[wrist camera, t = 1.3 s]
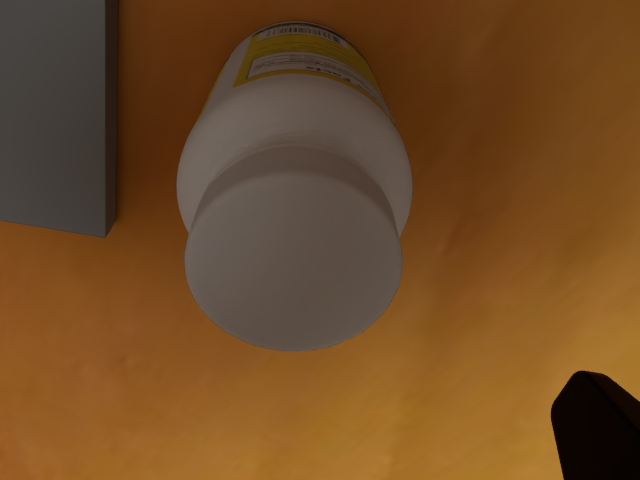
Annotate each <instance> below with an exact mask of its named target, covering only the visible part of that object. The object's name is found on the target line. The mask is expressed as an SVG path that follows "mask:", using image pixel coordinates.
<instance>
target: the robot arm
mask: <svg viewBox="0 0 640 480" xmlns="http://www.w3.org/2000/svg"><path fill="white" fill-rule="evenodd" d="M551 422H552V426H553V431H554V436H555V441H556V445H557V450H558V455H559V459H560V464H561V469H562V473H563V478H564V480H640V402H639V401H638V400H637V399H636V398H634V397H633V396H632V395H631V394H629V393H628V392H627V391H626V390H624V389H623V388H622V387H621V386H619V385H618V384H617V383H616V382H614V381H613V380H612V379H611V378H609V377H608V376H606V375H604V374H601V373H596V372H589V371H578V372H576V373H574V374H573V375H572V376H571V378H570V379H569V381H568V382H567V384H566V385H565V386H564V388H563V389H562V391H561V392H560V394H559V395H558V397H557V398H556V399H555V401H554V403H553V405H552V408H551Z"/></svg>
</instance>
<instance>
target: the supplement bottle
mask: <svg viewBox="0 0 640 480" xmlns="http://www.w3.org/2000/svg"><path fill="white" fill-rule="evenodd" d="M176 187H177V201H178V206H179V210H180V213H181V217H182V220H183V222H184V225H185V227H186V229H187V231H188V233H189V235H188V239H187V243H186V248H185V256H184V263H185V273H186V279H187V282H188V286H189V288H190V291H191V293H192V295H193V297H194V299H195V300H196V302H197V304H198V305H199V307H200V308H201V309H202V311H203V312H204V313H205V314H206V316H207V317H208V318H209V319H210V320H211V321H212V322H214V323H215V324H216V325H217V326H218V327H220V328H221V329H222V330H224V331H225V332H227V333H228V334H230V335H232V336H234V337H236V338H238V339H240V340H242V341H244V342H247V343H249V344H252V345H255V346H258V347H262V348H266V349H273V350H279V351H307V350H316V349H321V348H326V347H329V346H332V345H336V344H338V343H341V342H343V341H346V340H348V339H350V338H352V337H354V336H356V335H357V334H359V333H361V332H362V331H364V330H365V329H367V328H368V327H369V326H370V325H372V324H373V323H374V322H375V321H376V320H377V319H378V318H379V317H380V316H381V315H382V314H383V313H384V311H385V310H386V309H387V307H388V306H389V304H390V303H391V302H392V300H393V298H394V295H395V293H396V291H397V289H398V286H399V282H400V279H401V273H402V263H403V258H402V249H401V243H400V239H399V238H400V236H401V234H402V232H403V230H404V228H405V225H406V222H407V220H408V217H409V212H410V208H411V202H412V190H413V183H412V172H411V167H410V162H409V159H408V156H407V152H406V148H405V145H404V143H403V140H402V137H401V135H400V133H399V131H398V129H397V127H396V124H395V122H394V120H393V118H392V115H391V113H390V111H389V108H388V106H387V104H386V102H385V99H384V97H383V95H382V93H381V90H380V88H379V86H378V84H377V81H376V79H375V77H374V75H373V72H372V70H371V68H370V66H369V65H368V63H367V61H366V60H365V58H364V57H363V56H362V54H361V53H360V52H359V51H358V50H357V49H356V47H355V46H354V45H353V44H352V43H351V42H349V41H348V40H347V39H346V38H345V37H343V36H342V35H340V34H339V33H337V32H335V31H333V30H332V29H329V28H327V27H325V26H322V25H318V24H315V23H310V22H302V21H289V22H281V23H276V24H273V25H270V26H267V27H264V28H262V29H260V30H258V31H256V32H255V33H253V34H251V35H250V36H249V37H247V38H246V39H245V40H243V41H242V42H241V43H240V44H239V45H238V46H237V47H236V48H235V50H234V51H233V52H232V53H231V55H230V56H229V58H228V59H227V60H226V62H225V63H224V65H223V67H222V69H221V71H220V73H219V75H218V77H217V79H216V81H215V83H214V85H213V87H212V89H211V91H210V93H209V95H208V97H207V99H206V101H205V104H204V106H203V108H202V110H201V111H200V113H199V116H198V118H197V120H196V122H195V123H194V125H193V127H192V129H191V131H190V134H189V136H188V138H187V140H186V143H185V145H184V148H183V151H182V154H181V157H180V161H179V165H178V172H177V182H176Z"/></svg>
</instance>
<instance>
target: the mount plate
mask: <svg viewBox="0 0 640 480" xmlns="http://www.w3.org/2000/svg"><path fill="white" fill-rule="evenodd" d="M117 55H118V0H0V220H2V221H8V222H14V223H19V224H25V225H31V226H37V227H43V228H49V229H55V230H61V231H67V232H73V233H79V234H85V235H91V236H97V237H103V238H106V236H107V234H108V233H109V231H110V230H111V228H112V226H113V225H114V223H115V222H116V145H117Z"/></svg>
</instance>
